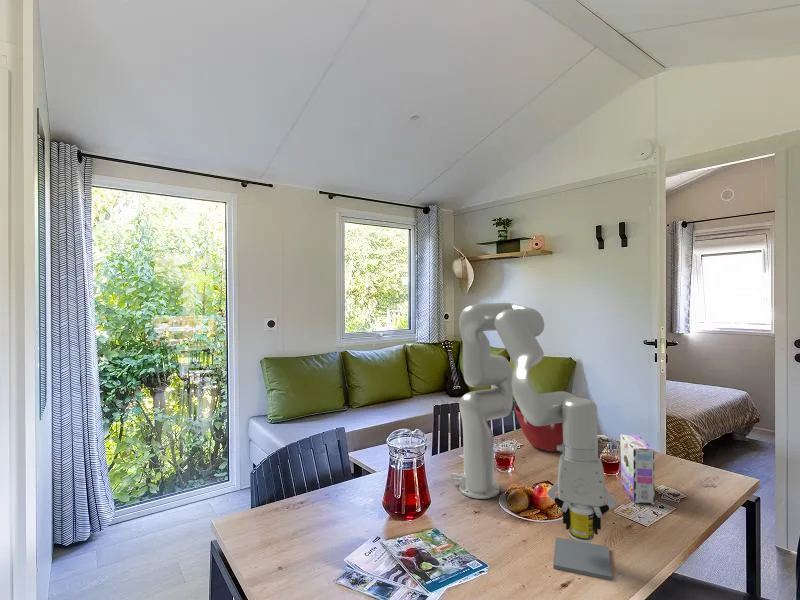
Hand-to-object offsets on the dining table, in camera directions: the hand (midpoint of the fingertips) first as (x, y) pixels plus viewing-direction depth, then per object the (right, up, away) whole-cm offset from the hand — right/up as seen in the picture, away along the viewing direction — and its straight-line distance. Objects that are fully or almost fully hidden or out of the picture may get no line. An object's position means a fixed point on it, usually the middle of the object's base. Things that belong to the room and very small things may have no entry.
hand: (581, 528), depth 102 cm
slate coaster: (0, -7, 0) cm, 7 cm away
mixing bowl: (+19, -6, +75) cm, 77 cm away
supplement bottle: (0, -2, 0) cm, 2 cm away
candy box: (+30, -6, +32) cm, 45 cm away
